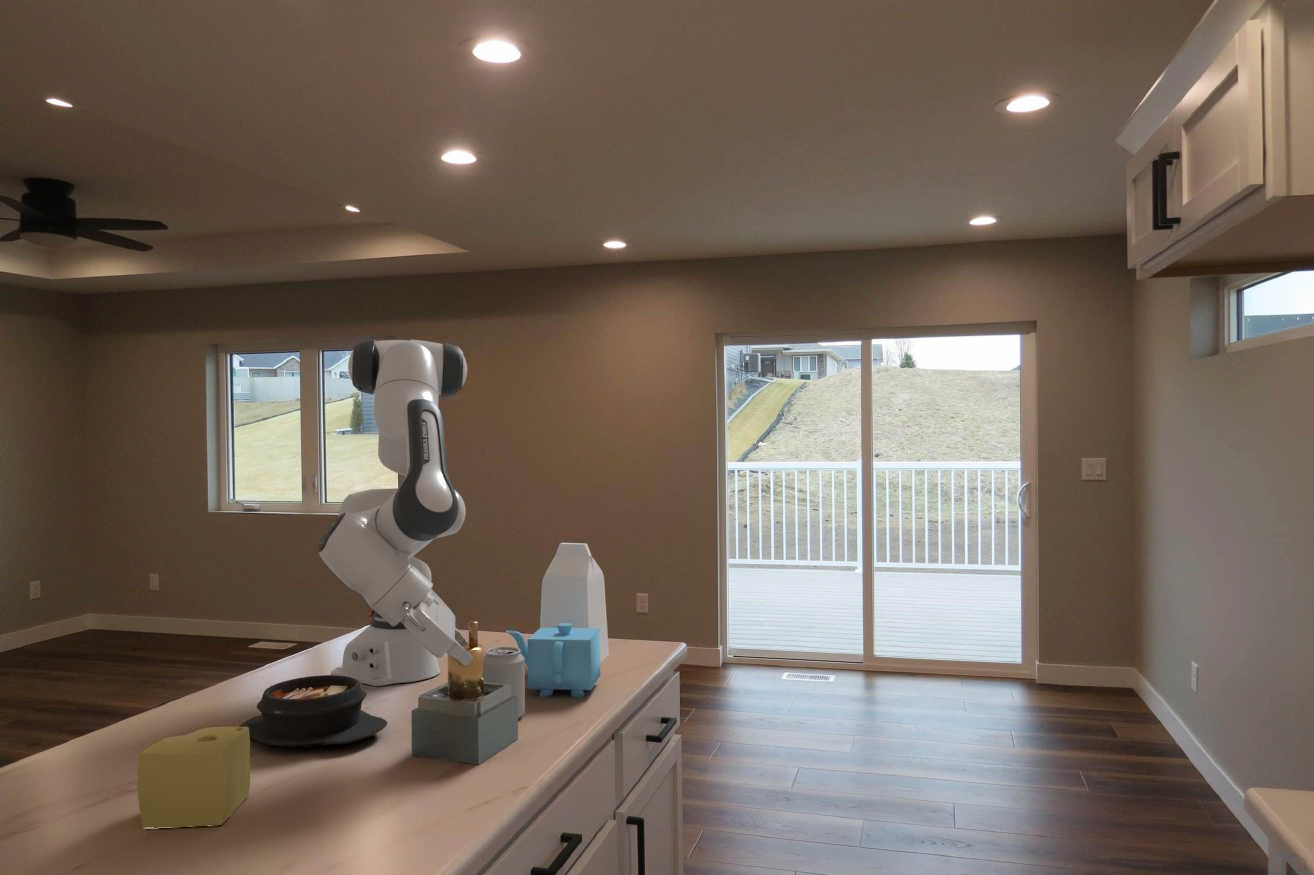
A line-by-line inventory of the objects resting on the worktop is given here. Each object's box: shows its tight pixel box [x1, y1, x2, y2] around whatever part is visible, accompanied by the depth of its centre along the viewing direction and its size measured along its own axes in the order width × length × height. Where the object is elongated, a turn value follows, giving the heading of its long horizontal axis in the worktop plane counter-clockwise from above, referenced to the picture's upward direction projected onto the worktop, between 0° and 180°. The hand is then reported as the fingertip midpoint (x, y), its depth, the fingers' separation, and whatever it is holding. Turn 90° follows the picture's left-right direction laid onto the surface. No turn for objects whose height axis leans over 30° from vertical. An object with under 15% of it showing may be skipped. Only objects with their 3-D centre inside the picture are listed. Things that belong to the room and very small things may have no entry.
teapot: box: [505, 623, 601, 698], centre depth 172 cm, size 18×16×13 cm
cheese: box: [136, 726, 251, 829], centre depth 116 cm, size 10×11×10 cm
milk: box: [539, 542, 610, 663], centre depth 193 cm, size 12×12×26 cm
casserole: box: [238, 674, 388, 749], centre depth 146 cm, size 25×19×8 cm
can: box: [484, 646, 526, 720], centre depth 155 cm, size 8×8×12 cm
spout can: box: [447, 620, 485, 700], centre depth 140 cm, size 6×6×12 cm
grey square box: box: [410, 682, 519, 766], centre depth 140 cm, size 12×12×9 cm
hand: (469, 656), depth 141 cm, fingers closed on spout can, 5 cm apart
